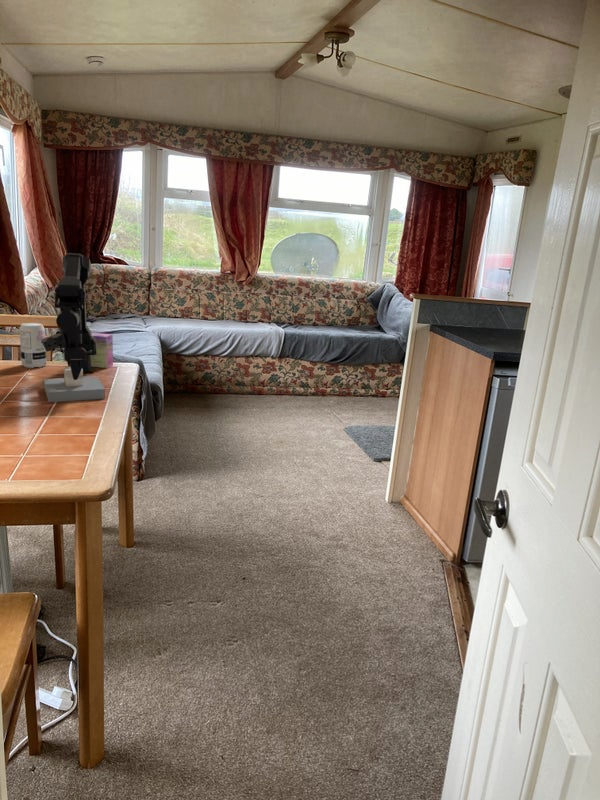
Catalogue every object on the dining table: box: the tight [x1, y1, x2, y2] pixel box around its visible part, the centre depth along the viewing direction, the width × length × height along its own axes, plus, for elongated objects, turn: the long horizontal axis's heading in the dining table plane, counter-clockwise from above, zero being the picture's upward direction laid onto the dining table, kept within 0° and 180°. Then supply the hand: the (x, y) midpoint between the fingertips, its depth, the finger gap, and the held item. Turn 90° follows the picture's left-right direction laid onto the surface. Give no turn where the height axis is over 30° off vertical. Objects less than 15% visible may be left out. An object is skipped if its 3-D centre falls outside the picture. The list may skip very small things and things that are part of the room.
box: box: [90, 332, 114, 369], centre depth 222 cm, size 10×6×12 cm, turn 84°
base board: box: [43, 375, 106, 403], centre depth 188 cm, size 16×16×3 cm
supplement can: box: [18, 322, 48, 369], centre depth 216 cm, size 8×8×15 cm
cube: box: [63, 365, 84, 386], centre depth 186 cm, size 5×5×5 cm
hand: (73, 376), depth 186 cm, fingers open, 9 cm apart
